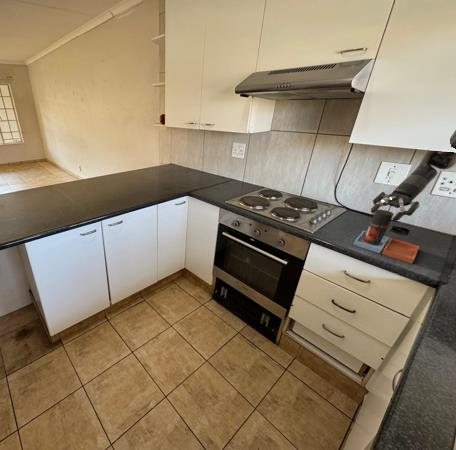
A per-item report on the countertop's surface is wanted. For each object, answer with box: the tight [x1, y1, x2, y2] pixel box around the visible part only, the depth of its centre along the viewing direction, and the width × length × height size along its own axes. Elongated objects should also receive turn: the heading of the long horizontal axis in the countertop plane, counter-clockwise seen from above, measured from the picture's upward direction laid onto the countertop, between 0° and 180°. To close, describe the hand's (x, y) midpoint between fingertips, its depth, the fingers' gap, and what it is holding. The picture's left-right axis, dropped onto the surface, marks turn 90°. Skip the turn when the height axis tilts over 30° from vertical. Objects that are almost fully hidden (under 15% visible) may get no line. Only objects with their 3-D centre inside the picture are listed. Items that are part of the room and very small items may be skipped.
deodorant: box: [364, 209, 395, 245], centre depth 111 cm, size 6×6×15 cm
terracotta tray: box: [381, 237, 421, 265], centre depth 107 cm, size 10×15×2 cm, turn 130°
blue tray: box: [352, 230, 390, 254], centre depth 114 cm, size 10×15×2 cm, turn 130°
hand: (382, 216), depth 108 cm, fingers open, 8 cm apart
